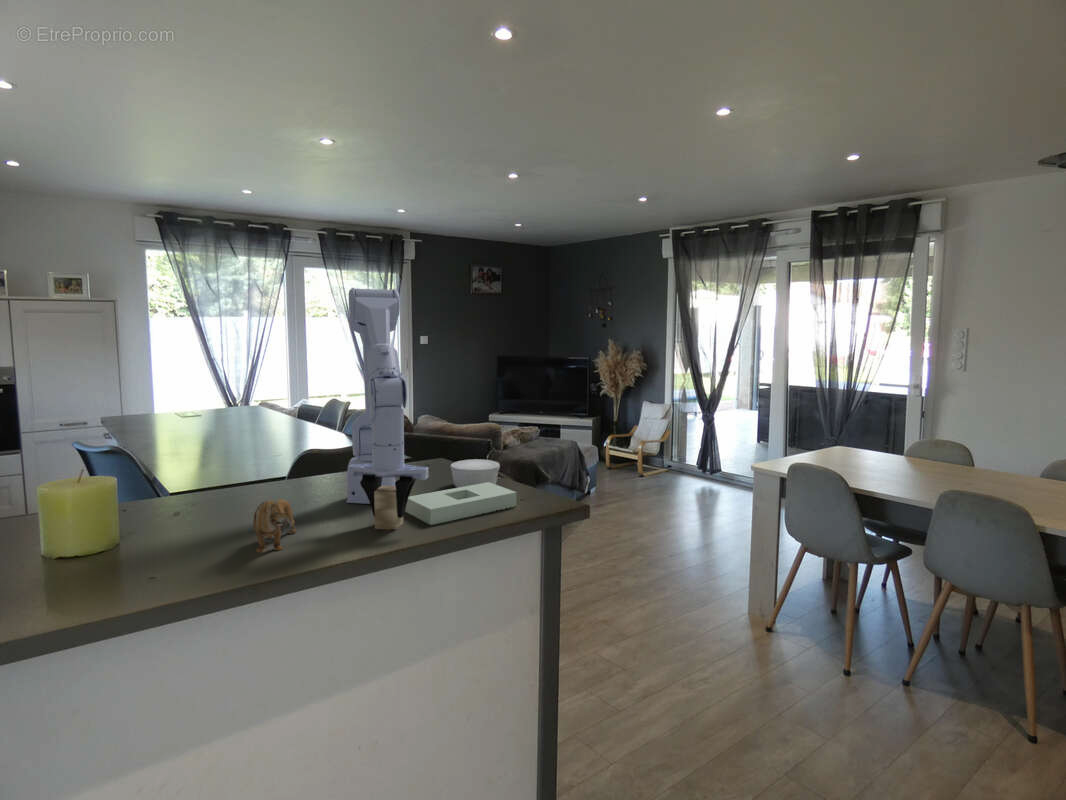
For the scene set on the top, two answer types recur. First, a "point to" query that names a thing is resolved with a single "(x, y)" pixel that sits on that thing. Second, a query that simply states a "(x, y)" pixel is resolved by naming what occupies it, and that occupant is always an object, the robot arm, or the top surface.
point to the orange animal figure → (272, 522)
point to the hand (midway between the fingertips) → (389, 515)
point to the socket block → (460, 502)
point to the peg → (386, 508)
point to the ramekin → (474, 472)
